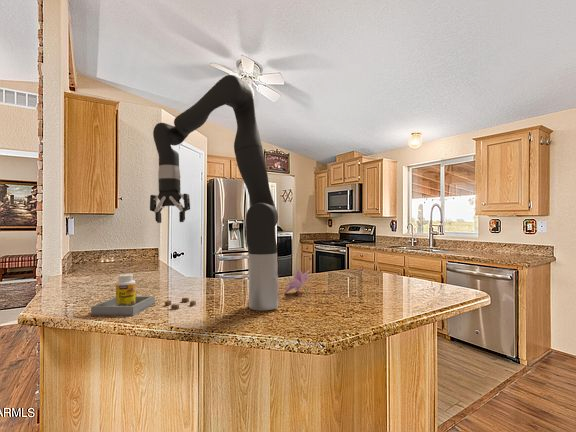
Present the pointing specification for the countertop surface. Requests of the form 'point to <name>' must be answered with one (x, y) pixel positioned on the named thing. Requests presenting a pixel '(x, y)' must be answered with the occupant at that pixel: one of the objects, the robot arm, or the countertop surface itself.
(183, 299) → the set of brown cubes
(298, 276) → the lily
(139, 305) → the tray
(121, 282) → the supplement bottle
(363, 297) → the countertop surface
